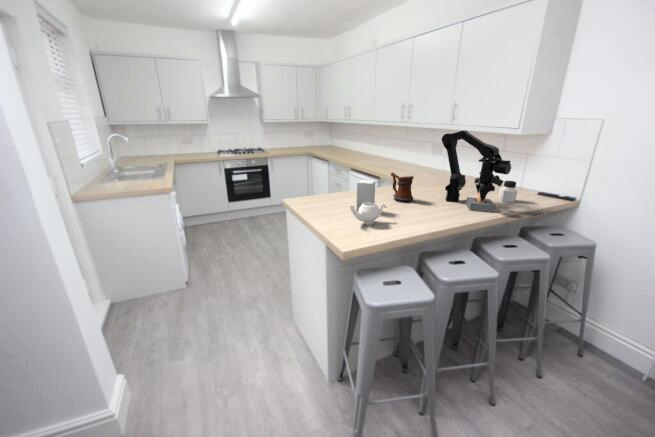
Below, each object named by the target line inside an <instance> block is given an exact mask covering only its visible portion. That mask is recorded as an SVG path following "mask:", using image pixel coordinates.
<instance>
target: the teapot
mask: <svg viewBox="0 0 655 437" xmlns="http://www.w3.org/2000/svg"><path fill="white" fill-rule="evenodd" d="M349 208H350V211H351V213H352V214H353V215H354V217H355V218H356V219H357V220H358V221H360V222H363V224H364V225H366V226H367V225H368V226H370V225H373V224H374V222H375V221H376V220H377V219H378V218H379V217H380V216H381V215H382V211H383V208H385V209H386V208H388V207H387V206H386V205H385V204H384V203H381V204H380V205H379V206H378V205H377V203H372V202H365V203H363V204H362V205H361V206H360V208H359V211H357V209H355V206H354V205H351V206H350V207H349Z"/></svg>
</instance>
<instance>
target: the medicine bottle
mask: <svg viewBox="0 0 655 437" xmlns="http://www.w3.org/2000/svg"><path fill="white" fill-rule="evenodd" d="M516 185H517V182H516V181H514V180H505V181H504V182H503V187H500V188H499V191H498V192H499V193H498V196H497V199H498V200H499V201H500V202H502V203H516V199H517V195H518V190H516V187H517V186H516Z"/></svg>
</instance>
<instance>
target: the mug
mask: <svg viewBox="0 0 655 437" xmlns="http://www.w3.org/2000/svg"><path fill="white" fill-rule="evenodd" d="M390 176H391V177H392V182H393V183H392V190H393V191H394V193H395V194H393V200H394V201H396V202H398V203H401V202H402V203H405V204H410V203H412V202H414V196H413V194H412V184H413V180H414V177H415V176H413V175H411V176H399V175H397V174H396V173H394V172H391V173H390ZM396 179H397V180H398V181H397V180H396ZM397 186H398V187H397ZM397 188H398V189H397Z"/></svg>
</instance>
